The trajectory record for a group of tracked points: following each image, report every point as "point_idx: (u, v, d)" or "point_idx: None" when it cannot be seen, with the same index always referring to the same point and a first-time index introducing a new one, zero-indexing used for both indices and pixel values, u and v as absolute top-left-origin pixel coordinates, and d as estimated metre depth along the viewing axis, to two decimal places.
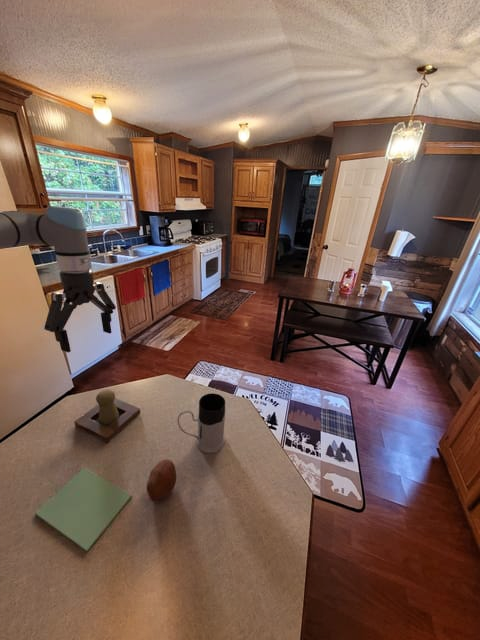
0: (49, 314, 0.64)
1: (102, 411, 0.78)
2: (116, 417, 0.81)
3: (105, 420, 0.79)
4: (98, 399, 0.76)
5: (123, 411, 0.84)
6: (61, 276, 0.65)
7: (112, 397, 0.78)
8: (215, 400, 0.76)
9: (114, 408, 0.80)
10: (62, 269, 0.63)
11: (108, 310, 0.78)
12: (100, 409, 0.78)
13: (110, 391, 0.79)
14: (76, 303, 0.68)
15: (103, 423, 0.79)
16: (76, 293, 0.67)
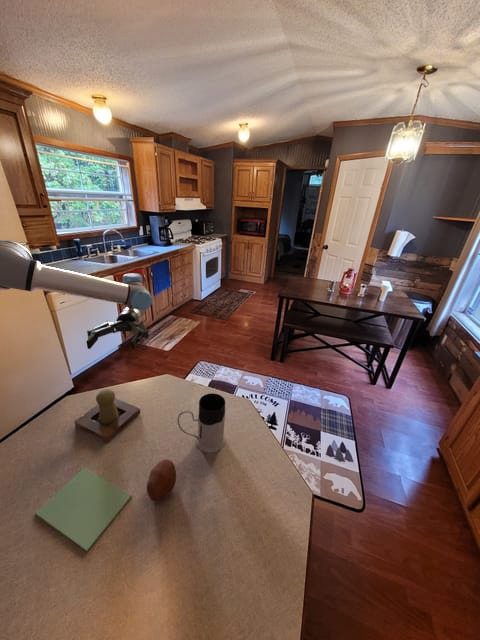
0: None
1: (102, 411, 0.78)
2: (116, 417, 0.81)
3: (105, 420, 0.79)
4: (98, 399, 0.76)
5: (123, 411, 0.84)
6: (138, 318, 1.00)
7: (112, 397, 0.78)
8: (215, 400, 0.76)
9: (114, 408, 0.80)
10: (139, 319, 1.02)
11: None
12: (100, 409, 0.78)
13: (110, 391, 0.79)
14: None
15: (103, 423, 0.79)
16: None
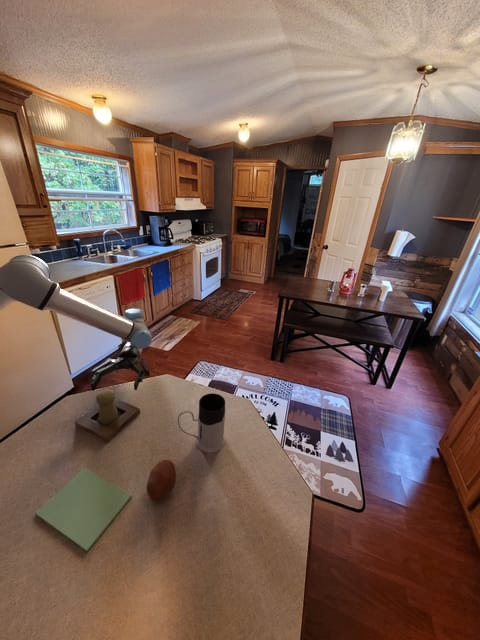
0: None
1: (102, 411, 0.78)
2: (116, 417, 0.81)
3: (105, 420, 0.79)
4: (98, 399, 0.76)
5: (123, 411, 0.84)
6: (139, 354, 1.04)
7: (112, 397, 0.78)
8: (215, 400, 0.76)
9: (114, 408, 0.80)
10: (140, 353, 1.06)
11: None
12: (100, 409, 0.78)
13: (110, 391, 0.79)
14: None
15: (103, 423, 0.79)
16: None
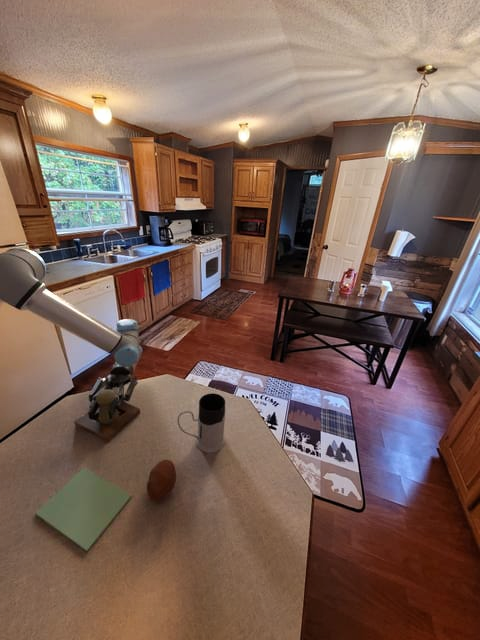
0: (131, 388, 0.85)
1: (102, 411, 0.78)
2: (116, 417, 0.81)
3: (105, 420, 0.79)
4: (98, 399, 0.76)
5: (123, 411, 0.84)
6: (132, 369, 0.95)
7: (112, 397, 0.78)
8: (215, 400, 0.76)
9: None
10: (134, 369, 0.97)
11: None
12: (100, 409, 0.78)
13: (110, 391, 0.79)
14: None
15: (103, 423, 0.79)
16: None
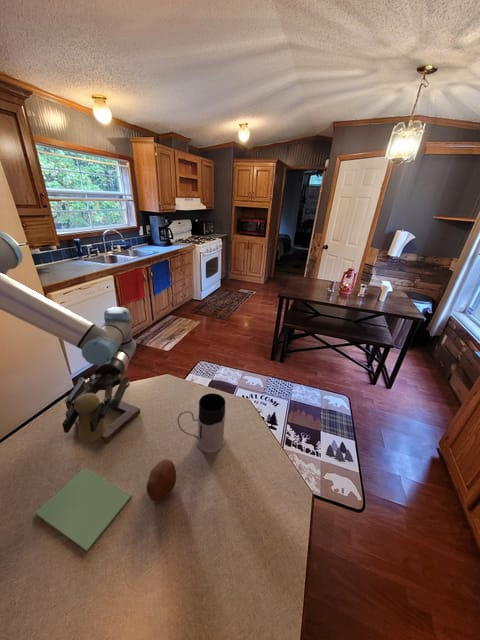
0: (121, 391, 0.68)
1: (83, 421, 0.60)
2: (101, 428, 0.63)
3: (86, 433, 0.61)
4: (77, 406, 0.58)
5: (123, 411, 0.84)
6: (123, 368, 0.77)
7: (95, 403, 0.60)
8: (215, 400, 0.76)
9: None
10: (126, 367, 0.79)
11: None
12: (80, 419, 0.60)
13: (93, 395, 0.61)
14: None
15: (84, 436, 0.61)
16: None
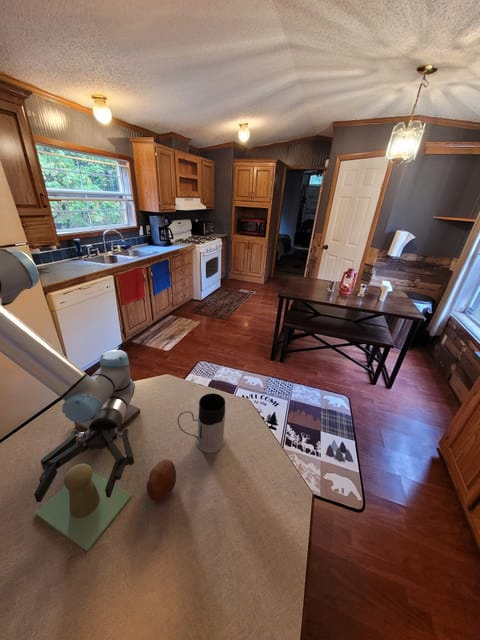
0: None
1: (74, 498, 0.54)
2: (95, 501, 0.57)
3: (78, 510, 0.55)
4: (66, 483, 0.52)
5: None
6: (120, 419, 0.71)
7: (87, 478, 0.54)
8: (215, 400, 0.76)
9: (91, 490, 0.56)
10: (123, 417, 0.74)
11: None
12: (70, 495, 0.54)
13: (85, 468, 0.55)
14: None
15: (75, 513, 0.55)
16: None
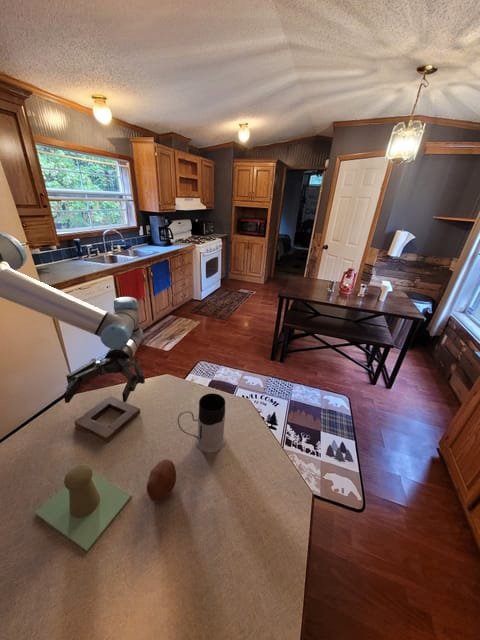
0: None
1: (74, 498, 0.54)
2: (95, 501, 0.57)
3: (78, 510, 0.55)
4: (66, 483, 0.52)
5: (123, 411, 0.84)
6: (132, 354, 0.82)
7: (87, 478, 0.54)
8: (215, 400, 0.76)
9: (91, 490, 0.56)
10: (134, 353, 0.84)
11: None
12: (70, 495, 0.54)
13: (85, 468, 0.55)
14: None
15: (75, 513, 0.55)
16: None
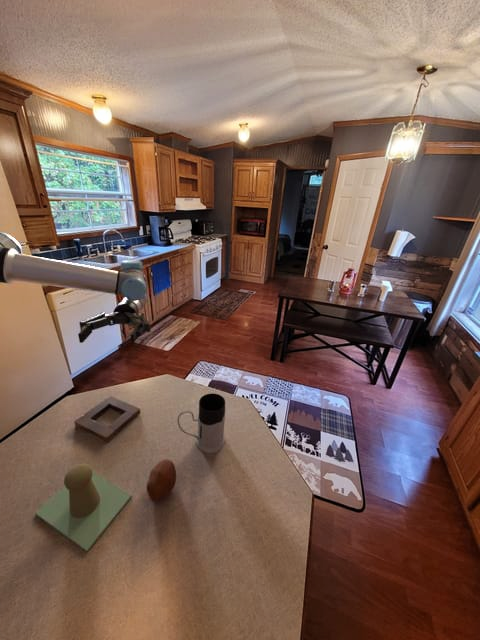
0: None
1: (74, 498, 0.54)
2: (95, 501, 0.57)
3: (78, 510, 0.55)
4: (66, 483, 0.52)
5: (123, 411, 0.84)
6: (138, 310, 0.89)
7: (87, 478, 0.54)
8: (215, 400, 0.76)
9: (91, 490, 0.56)
10: (139, 310, 0.91)
11: None
12: (70, 495, 0.54)
13: (85, 468, 0.55)
14: None
15: (75, 513, 0.55)
16: None
